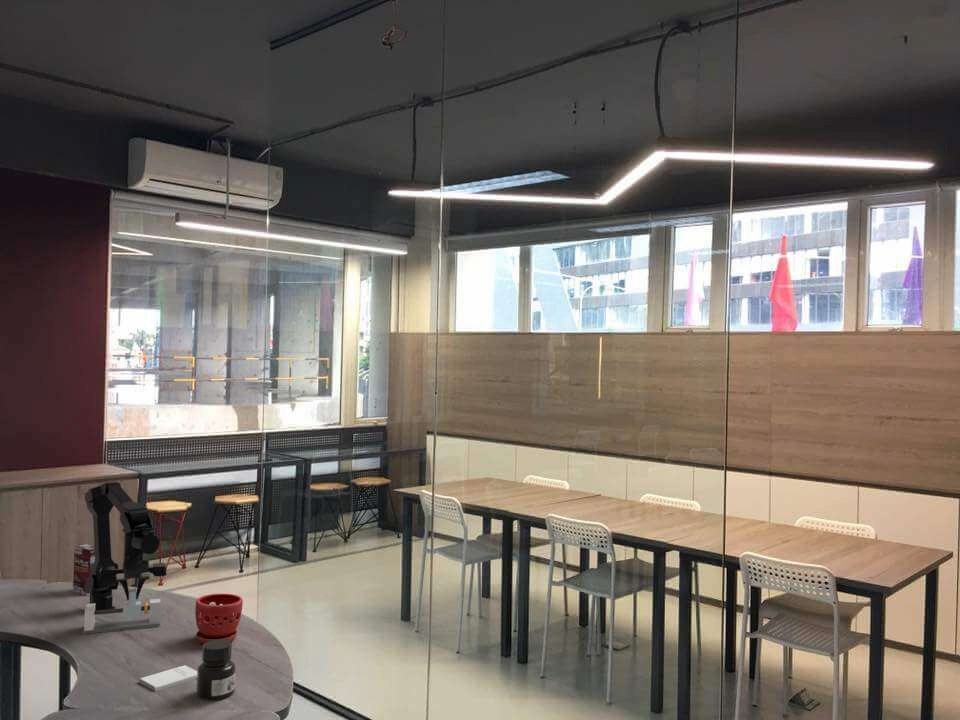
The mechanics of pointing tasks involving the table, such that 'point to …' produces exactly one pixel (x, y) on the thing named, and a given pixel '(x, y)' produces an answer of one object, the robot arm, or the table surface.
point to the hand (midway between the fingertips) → (132, 599)
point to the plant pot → (218, 617)
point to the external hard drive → (169, 678)
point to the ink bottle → (216, 671)
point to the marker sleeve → (132, 606)
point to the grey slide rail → (118, 625)
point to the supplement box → (82, 566)
